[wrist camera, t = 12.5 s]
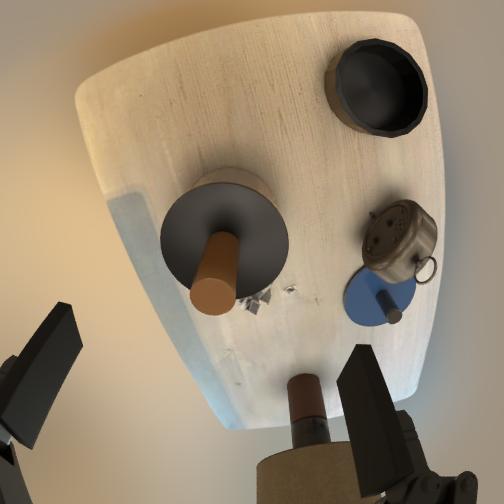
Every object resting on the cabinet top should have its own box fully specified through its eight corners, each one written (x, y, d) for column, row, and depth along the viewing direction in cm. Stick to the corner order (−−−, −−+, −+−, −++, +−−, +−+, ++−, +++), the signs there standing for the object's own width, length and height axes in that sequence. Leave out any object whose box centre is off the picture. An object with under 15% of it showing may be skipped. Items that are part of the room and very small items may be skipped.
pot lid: (335, 273, 44) (347, 300, 38) (410, 245, 42) (431, 267, 36) (350, 331, 50) (360, 359, 44) (414, 306, 48) (430, 330, 41)
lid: (142, 210, 30) (100, 253, 20) (260, 159, 27) (263, 182, 18) (197, 307, 35) (181, 369, 26) (303, 272, 33) (319, 333, 24)
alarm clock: (368, 257, 43) (411, 322, 29) (344, 239, 42) (384, 304, 27) (410, 203, 39) (473, 250, 24) (388, 182, 38) (452, 223, 23)
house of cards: (263, 322, 49) (264, 354, 42) (221, 296, 46) (216, 328, 39) (299, 288, 46) (306, 318, 39) (256, 258, 43) (257, 286, 36)
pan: (310, 57, 30) (319, 49, 25) (390, 42, 28) (408, 34, 23) (342, 144, 35) (356, 148, 31) (417, 122, 33) (438, 125, 28)
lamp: (260, 411, 62) (262, 545, 30) (250, 357, 53) (248, 539, 22) (343, 401, 61) (370, 530, 29) (354, 345, 52) (404, 513, 20)
